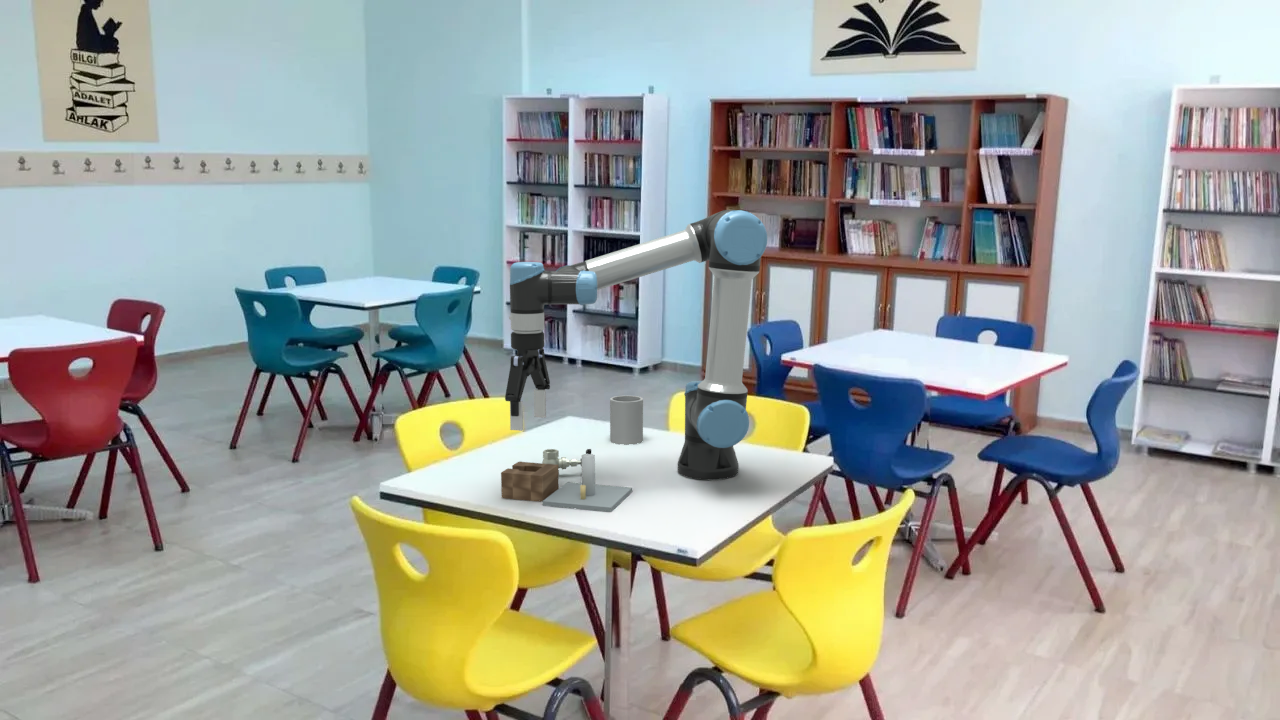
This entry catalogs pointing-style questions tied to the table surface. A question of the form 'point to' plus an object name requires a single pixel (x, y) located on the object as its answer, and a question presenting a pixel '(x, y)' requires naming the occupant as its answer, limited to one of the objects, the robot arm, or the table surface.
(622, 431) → the cup
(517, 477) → the brown u-shaped block
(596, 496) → the post board
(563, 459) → the valve
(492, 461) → the table surface
